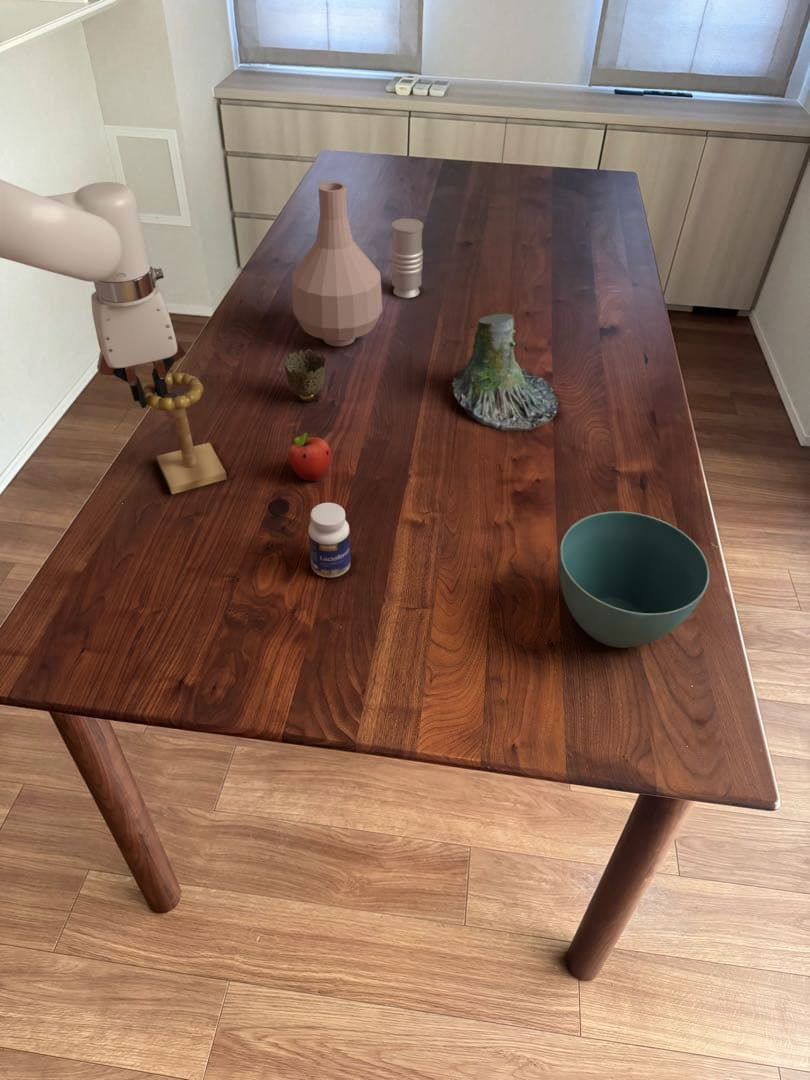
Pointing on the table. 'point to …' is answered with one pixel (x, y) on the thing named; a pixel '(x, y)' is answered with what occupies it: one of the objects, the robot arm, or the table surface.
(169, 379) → the ring
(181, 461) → the post stand
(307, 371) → the cup
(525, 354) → the table surface
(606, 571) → the teal bowl
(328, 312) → the vase
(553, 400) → the tree stump
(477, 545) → the table surface
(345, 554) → the pill bottle
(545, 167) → the table surface
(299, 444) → the apple
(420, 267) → the ribbed beige cylinder
